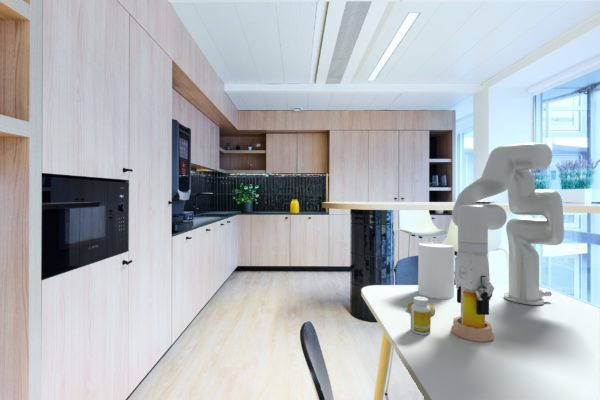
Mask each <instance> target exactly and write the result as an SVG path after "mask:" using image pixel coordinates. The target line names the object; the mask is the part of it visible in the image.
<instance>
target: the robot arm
mask: <svg viewBox="0 0 600 400" xmlns="http://www.w3.org/2000/svg"><path fill="white" fill-rule="evenodd" d="M552 160H553V151H552V149H551V147H550V145H548V144H546V143H540V142H538V143H537V142H525V143H516V144H514V143H513V144H506V145H500V146H497V147H495V148H493V149H492V150H491V151H490V153H489V155H488V159H487V160H486V163H485V166H484V168H483V172H482V174H481V176H480V177H479V178H478V179H476V180H475V181H473V182H472V183H470V184H469V185H468V186H466V187H465V188H464V189H462V191H461V192H460V193H459V194H458V195H457V198H456V200H455V202H454V206H453V208H452V213H451V219H452V222H453V223H454V225H455V226H456V227H457V253H456V258H455V263H454V283H455V286H456V287H455V288H456V302H457V303H458V304H461V286H463V287H464V288H466V289H468V290H470V291H474V290H475V292H476V295H477V297H478V299H476V313H477V314H478V315H485V316H488V315H490V301H491V300H492V299H491V298H492V297H493V293H494V291H495V287H494V286H493V284H492V283H491V282H490V281H491V280H490V278H491V277H490V265H489V258H488V254H489V253H488V252H489V248H488V247H489V246H488V244H489V243H488V242H489V241H488V240H489V237H488V236H489V230H491V231H495V230H499V229H501V228H503V226H505V224H506V227H505V230H506V236H507V242H508V243H507V244H508V292H505V293H504V294H503V298H504V299H505V300H507V301H510V302H513V303H515V304H516V303H517V304H522V305H528V306H541V305H544V304H545V299H544V297H552V295H553V294H552V291H550V290H542V289H540V255H539V252H538V251H537V250H536V248H535V247H534V246H533V244H535V245H543V246H544V245H546V246H558V245H561V244H562V243H563V241H564V238H565V225H564V224H565V221H564V206H563V205H564V204H563V199H562V196H561V194H560V193H559V192H558V191H557V190H552V189H537V188H536V186H535V183H536V181H535V176H534V174H533V173H532V171H531V170H545V169H547V168H548V167H549V166H550V165H551V163H552ZM506 191H507V199H508V207H509V211H510V212H511V213H512V214H513V215H518V216H529V217H515V218H511V219H509V220H508V221H507V218H508V217H507V212H506V210H505V209H504V208H503V207H502V206H501V205H498V204H492V203H489V204H488V203H487V204H485V203H484V204H483V203H477V202H479V201H481V200H484V199H486V198H490V197H494V196H497V195H499V194H502V193H503V192H506ZM530 216H533V217H530ZM535 216H537V217H539V216H540V217H544V218H537V217H535ZM478 287H482V288H478ZM480 292H484V293H483V294H482V295H481V293H480Z"/></svg>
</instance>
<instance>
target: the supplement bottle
mask: <svg viewBox="0 0 600 400" xmlns="http://www.w3.org/2000/svg"><path fill="white" fill-rule="evenodd" d="M413 300H414V301H413ZM413 300H412V301H413V302H414V304H412V306H411V311H410V331H411V332H412V333H414V334H417V335H421V336H424V335H425V336H426V335H429V334H430V333H431V326H432V325H431V323H432V322H431V321H432V320H431V318H432V317H431V309H430V307H429V306H428V303H429V297H426V296H421V295H420V296H419V295H417V296H414V297H413Z"/></svg>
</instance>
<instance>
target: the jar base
mask: <svg viewBox="0 0 600 400" xmlns="http://www.w3.org/2000/svg"><path fill="white" fill-rule="evenodd" d="M452 320H453V321H452V323H453V325H452V326H451V328H450V329H451V333H452V334H453V335H454V336H456V337H458V338H461V339H463V340H466V341H469V342H475V343H489V342H493V340H494V339H495V335H494V332H493V331H492V330H493V327H492V324H491V323H489V321H486V320H485V328H473V327H468V326H465V325H462V324H461V316H456V317H453V319H452Z"/></svg>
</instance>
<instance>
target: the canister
mask: <svg viewBox="0 0 600 400" xmlns="http://www.w3.org/2000/svg"><path fill="white" fill-rule="evenodd" d="M417 245H418V246H417V247H418V255H417V256H418V259H417V260H418V261H417V262H418V265H417V266H418V270H417V272H418V273H417V274H418V275H417V293H418V294H419V295H420V296H422V297H426V298H431V299H439V300H447V299H452V298H454V297H455V274H454V272H455V245H454V244H449V243H442V242H420V243H418V244H417Z"/></svg>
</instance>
